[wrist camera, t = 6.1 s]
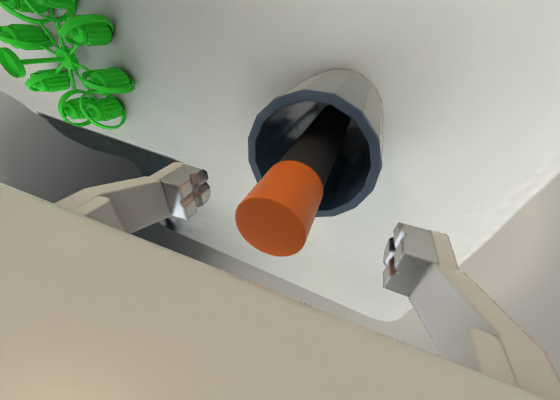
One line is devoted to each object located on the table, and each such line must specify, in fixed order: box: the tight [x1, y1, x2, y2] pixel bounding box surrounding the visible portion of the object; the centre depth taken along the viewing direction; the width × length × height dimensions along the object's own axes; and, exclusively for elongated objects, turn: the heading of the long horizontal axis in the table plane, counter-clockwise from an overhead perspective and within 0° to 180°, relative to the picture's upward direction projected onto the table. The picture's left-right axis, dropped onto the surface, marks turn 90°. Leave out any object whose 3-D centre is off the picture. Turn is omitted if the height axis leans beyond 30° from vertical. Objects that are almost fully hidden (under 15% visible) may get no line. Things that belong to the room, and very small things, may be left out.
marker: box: [235, 105, 350, 256], centre depth 14 cm, size 3×3×14 cm
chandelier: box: [0, 0, 135, 129], centre depth 22 cm, size 15×15×7 cm
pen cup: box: [248, 69, 383, 217], centre depth 16 cm, size 7×7×9 cm
